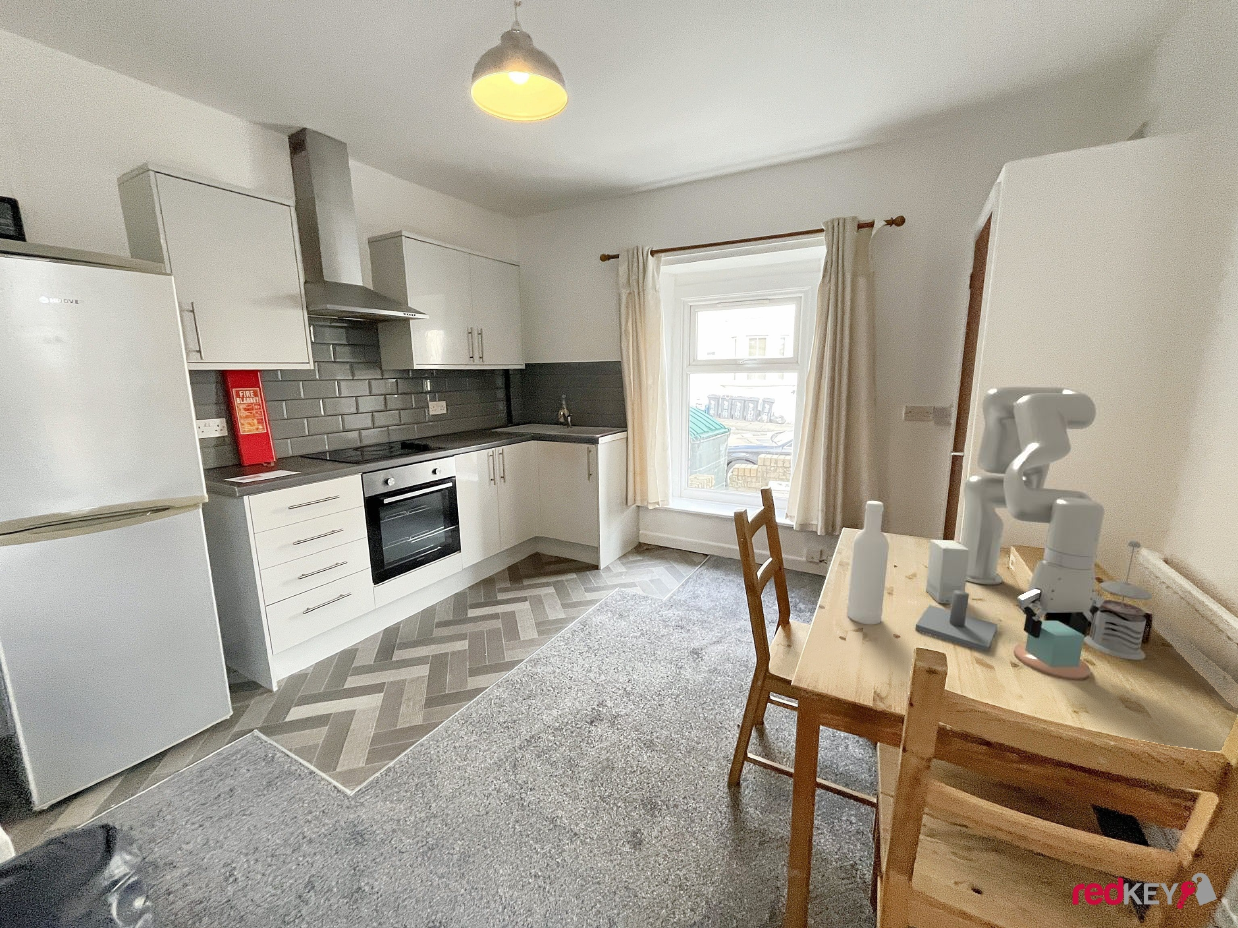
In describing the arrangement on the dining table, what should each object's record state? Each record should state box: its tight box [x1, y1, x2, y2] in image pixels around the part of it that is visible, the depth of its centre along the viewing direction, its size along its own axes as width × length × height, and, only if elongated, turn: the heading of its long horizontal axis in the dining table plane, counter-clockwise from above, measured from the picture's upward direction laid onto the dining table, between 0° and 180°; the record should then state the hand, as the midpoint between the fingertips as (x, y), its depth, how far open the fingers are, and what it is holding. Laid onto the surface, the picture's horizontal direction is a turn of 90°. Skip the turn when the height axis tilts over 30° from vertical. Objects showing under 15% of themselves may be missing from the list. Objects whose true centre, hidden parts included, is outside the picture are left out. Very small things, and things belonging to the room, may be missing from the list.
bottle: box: [846, 500, 890, 626], centre depth 118 cm, size 8×8×30 cm
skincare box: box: [925, 539, 969, 605], centre depth 130 cm, size 8×7×16 cm
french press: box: [1083, 540, 1153, 660], centre depth 105 cm, size 10×12×25 cm
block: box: [1025, 620, 1085, 667], centre depth 100 cm, size 6×6×7 cm
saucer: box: [1013, 642, 1091, 681], centre depth 101 cm, size 12×12×1 cm
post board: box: [915, 590, 998, 654], centre depth 113 cm, size 14×14×10 cm
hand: (1053, 634), depth 100 cm, fingers open, 9 cm apart
